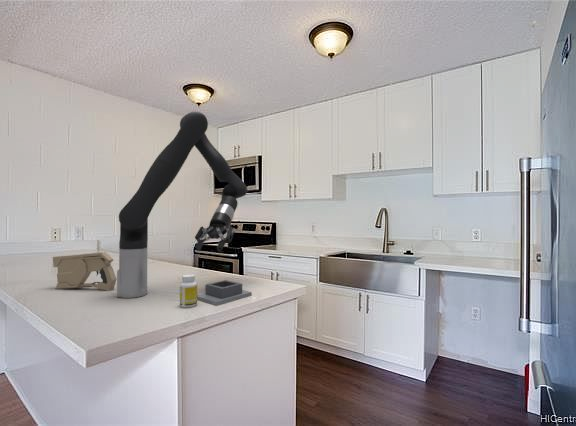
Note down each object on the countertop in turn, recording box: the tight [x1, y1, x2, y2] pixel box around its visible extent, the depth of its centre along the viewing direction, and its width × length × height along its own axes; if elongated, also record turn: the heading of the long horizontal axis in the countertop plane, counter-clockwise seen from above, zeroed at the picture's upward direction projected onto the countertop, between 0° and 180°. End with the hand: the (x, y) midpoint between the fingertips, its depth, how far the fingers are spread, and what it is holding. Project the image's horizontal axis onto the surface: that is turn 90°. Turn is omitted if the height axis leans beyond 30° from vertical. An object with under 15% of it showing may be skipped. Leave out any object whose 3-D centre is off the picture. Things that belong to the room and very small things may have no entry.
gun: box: [52, 251, 117, 292], centre depth 119 cm, size 24×3×15 cm, turn 84°
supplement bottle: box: [179, 273, 198, 309], centre depth 98 cm, size 5×5×10 cm
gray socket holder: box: [197, 279, 253, 306], centre depth 108 cm, size 16×12×5 cm
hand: (207, 249), depth 110 cm, fingers open, 8 cm apart
